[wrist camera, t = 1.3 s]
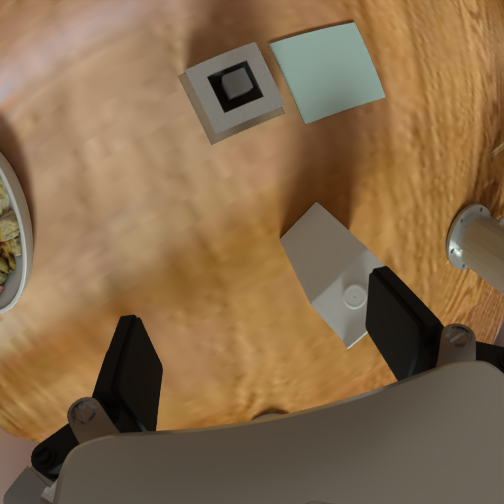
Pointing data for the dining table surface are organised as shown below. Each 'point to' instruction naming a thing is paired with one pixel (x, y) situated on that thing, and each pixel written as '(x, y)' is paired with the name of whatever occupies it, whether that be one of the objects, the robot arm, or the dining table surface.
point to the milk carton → (332, 270)
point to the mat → (328, 71)
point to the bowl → (13, 238)
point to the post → (227, 102)
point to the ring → (224, 64)
